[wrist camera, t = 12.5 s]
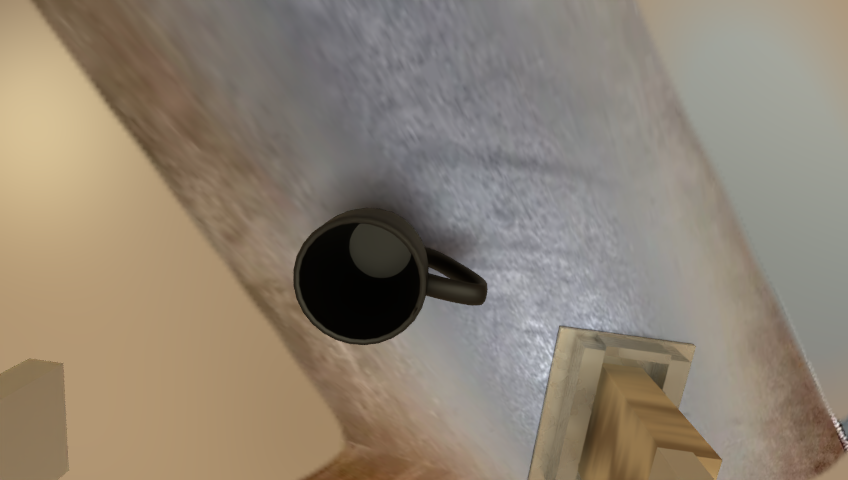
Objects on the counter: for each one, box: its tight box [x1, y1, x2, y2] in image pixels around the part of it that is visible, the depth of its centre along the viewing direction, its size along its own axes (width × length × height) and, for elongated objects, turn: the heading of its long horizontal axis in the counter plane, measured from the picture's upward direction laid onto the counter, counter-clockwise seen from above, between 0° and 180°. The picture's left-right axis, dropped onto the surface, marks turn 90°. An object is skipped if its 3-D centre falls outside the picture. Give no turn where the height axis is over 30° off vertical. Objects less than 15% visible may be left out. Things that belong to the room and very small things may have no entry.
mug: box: [294, 208, 487, 345], centre depth 32 cm, size 8×12×10 cm
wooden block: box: [578, 363, 722, 480], centre depth 33 cm, size 10×4×11 cm, turn 173°
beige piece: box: [528, 326, 696, 480], centre depth 38 cm, size 15×11×3 cm
